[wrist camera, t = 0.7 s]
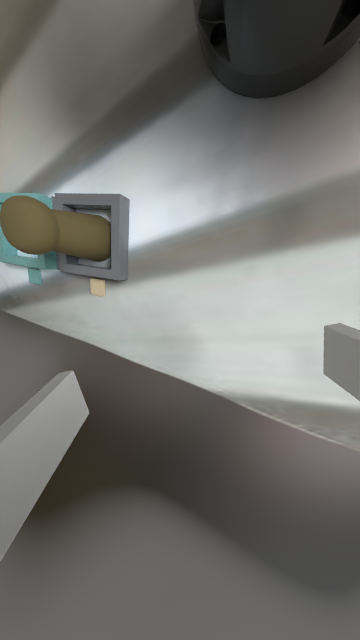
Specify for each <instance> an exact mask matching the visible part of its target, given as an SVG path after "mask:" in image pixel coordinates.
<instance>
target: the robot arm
mask: <svg viewBox="0 0 360 640" xmlns="http://www.w3.org/2000/svg"><path fill="white" fill-rule="evenodd" d="M194 10H195V17H196V22H197V27H198V32H199V36H200V41H201V45H202V50H203V53H204V56H205V59H206V61H207V63H208V65H209V67H210V69H211V71H212V72H213V74H214V75H215V76H216V78H217V79H218V80H219V81H220V82H221V83H222V84H223V85H224V86H226V87H227V88H228V89H230V90H232V91H233V92H236V93H238V94H241V95H244V96H248V97H271V96H276V95H280V94H283V93H286V92H289V91H292V90H294V89H296V88H298V87H300V86H302V85H304V84H306V83H308V82H309V81H311V80H313V79H314V78H316V77H317V76H319V75H320V74H321V73H323V72H324V71H325V70H327V69H328V68H329V67H330V66H332V65H333V64H334V63H335V62H336V61H337V60H338V59H339V58H340V57H342V56H343V55H344V54H345V53H346V52H347V50H348V49H349V48H350V47H351V46H352V45H353V44H354V43H355V42H356V41H357V39H358V38H359V37H360V0H194ZM323 374H325V375H326V376H327V377H329V378H330V379H331V380H333V381H334V382H335V383H337V384H338V385H339V386H341V387H342V388H343V389H345V390H346V391H347V392H349V393H350V394H351V395H353V396H354V397H355V398H357V399H358V400H359V401H360V330H357V329H355V328H352V327H349V326H346V325H343V324H341V323H338V324H332V325H327V326H324V373H323ZM88 414H89V410H88V408H87V405H86V403H85V400H84V398H83V395H82V392H81V390H80V387H79V384H78V382H77V379H76V376H75V374H74V371H66V372H61V373H59V374H58V375H56V376H55V377H54V378H53V379H52V380H51V381H50V382H49V383H48V384H46V385H45V386H44V387H43V388H42V389H41V390H40V391H39V392H38V393H37V394H36V395H35V396H33V397H32V398H31V399H30V400H29V401H28V402H27V403H26V404H24V405H23V406H22V407H21V408H20V409H19V410H18V411H17V412H16V413H15V414H13V415H12V416H11V417H10V418H9V419H8V420H7V421H6V422H5V423H4V424H2V425H1V426H0V561H1V559H2V558H3V556H4V554H5V553H6V551H7V549H8V548H9V546H10V544H11V542H12V541H13V539H14V538H15V536H16V534H17V533H18V531H19V529H20V528H21V526H22V524H23V523H24V521H25V519H26V518H27V516H28V514H29V512H30V511H31V509H32V507H33V506H34V504H35V502H36V501H37V499H38V498H39V496H40V494H41V493H42V491H43V489H44V488H45V486H46V484H47V482H48V481H49V479H50V477H51V475H52V474H53V473H54V471H55V469H56V468H57V466H58V464H59V463H60V461H61V459H62V458H63V456H64V454H65V453H66V451H67V449H68V447H69V445H70V444H71V442H72V441H73V439H74V438H75V436H76V434H77V432H78V431H79V429H80V427H81V426H82V424H83V422H84V421H85V419H86V417H87V416H88Z"/></svg>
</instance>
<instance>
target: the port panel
mask: <svg viewBox="0 0 360 640" xmlns="http://www.w3.org/2000/svg"><path fill="white" fill-rule="evenodd" d="M20 195H21V196H29V197H32V198H35V199H37V200H39V201H41V202H42V203H44V204H46V205H47V206H48V207H49V208H50V209H52V208H53V209H56V210H63V211H70V212H75V208H86V209H111V268H103V267H96V266H89V265H82V264H78V261H77V256H72V255H68V254H64V253H59V252H55V251H51V252H48V253H46V254H41V255H38V258H31V257H24V256H17V249H16V248H15V247H13V246H12V245H11V244H10V243H9V242H8V241H7V239H6V237H5V236H4V234H3V231H2V229H1V225H0V262H4V263H10V264H17V265H23V266H30V267H36V268H42V269H58V270H61V271H62V272H68V273H74V274H81V275H87V276H94V277H100V278H106V279H113V280H127V277H128V235H129V199H128V198H126V197H124V196H122V195H121V194H65V193H55V197H52V198H50V197H47V196H44V195H42V194H39V193H0V210H1V207H2V204H3V203H4V201H5V200H6V199H8V198H10V197H12V196H20ZM56 258H57V260H56ZM28 274H29V282H30V283H35V284H42V283H41V274H40V270H38V269H31V268H28ZM90 281H91V294H93V295H98V296H105V280H100V279H94V278H90Z"/></svg>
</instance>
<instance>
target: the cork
mask: <svg viewBox="0 0 360 640" xmlns="http://www.w3.org/2000/svg"><path fill="white" fill-rule="evenodd" d="M0 225H1V229H2V231H3V234H4V236H5V237H6V239H7V241H8V242H9V243H10V244H11V245H12V246H13V247H15V248H16V249H18V250H20V251H22V252H24V253H27V254H35V255H41V254H46V253H48V252H51V251H55V252H59V253H64V254H68V255H72V256H77V257H81V258H86V259H90V260H95V261H104V260H107V259H108V258H109V257H110V256H111V223H110V222H109V221H108V220H107V219H106V218H104V217H102V216H99V215H91V214H84V213H77V212H70V211H63V210H56V209H50V208H49V207H48V206H47V205H46V204H44V203H42V202H41V201H39V200H37V199H35V198H32V197H29V196H21V195H20V196H12V197H10V198H8V199H6V200H5V201H4V203H3V204H2V207H1V210H0Z"/></svg>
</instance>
